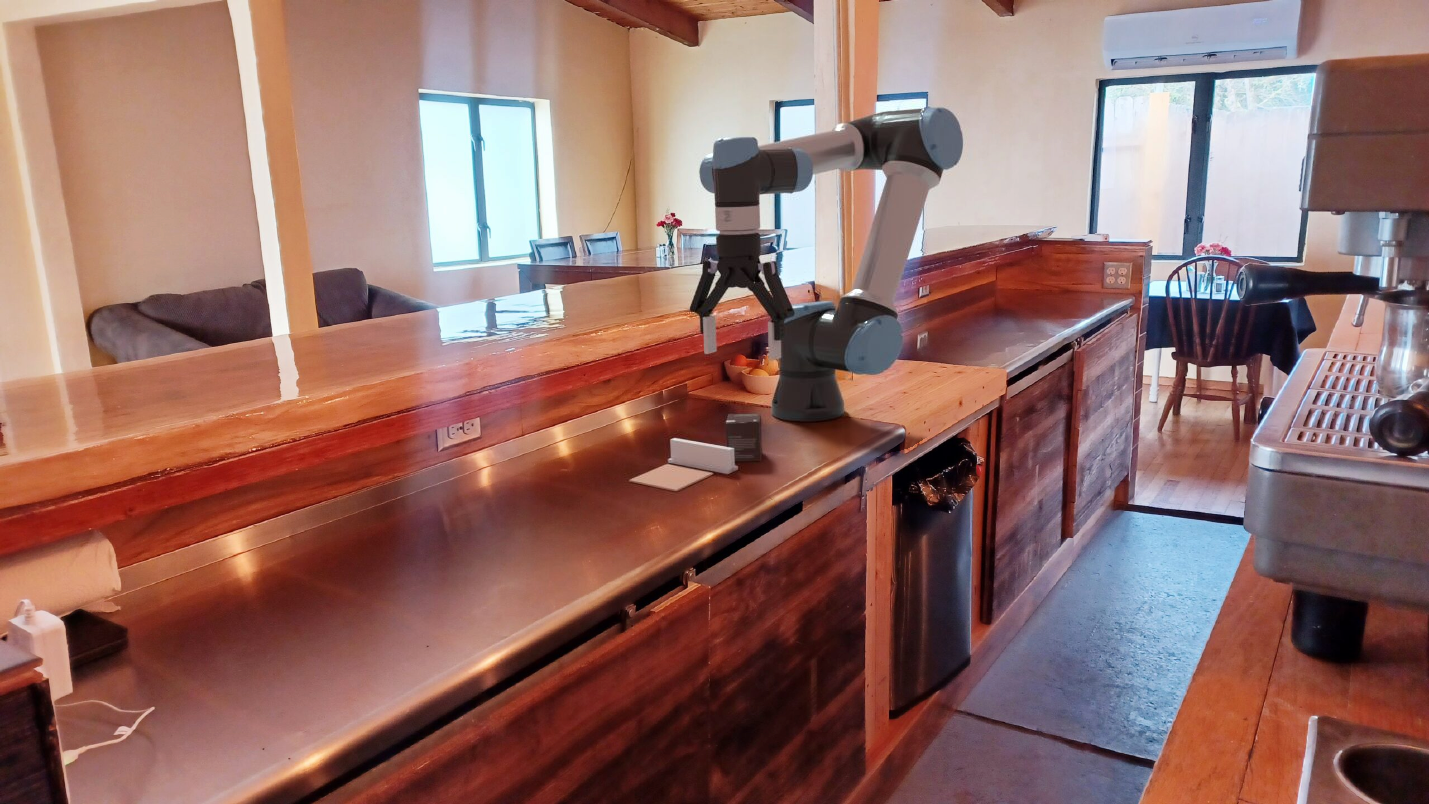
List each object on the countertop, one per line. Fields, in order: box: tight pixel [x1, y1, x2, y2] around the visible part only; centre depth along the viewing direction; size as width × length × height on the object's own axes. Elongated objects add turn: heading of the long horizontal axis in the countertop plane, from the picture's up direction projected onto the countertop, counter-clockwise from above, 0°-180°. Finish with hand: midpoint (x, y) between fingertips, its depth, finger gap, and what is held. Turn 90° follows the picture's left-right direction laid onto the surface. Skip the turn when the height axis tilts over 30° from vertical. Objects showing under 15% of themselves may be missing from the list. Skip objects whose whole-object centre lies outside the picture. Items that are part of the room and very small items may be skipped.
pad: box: [628, 463, 714, 492], centre depth 159 cm, size 10×10×1 cm
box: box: [725, 413, 763, 462], centre depth 168 cm, size 6×6×7 cm
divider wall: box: [667, 437, 739, 475], centre depth 164 cm, size 3×13×4 cm, turn 54°
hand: (742, 355), depth 164 cm, fingers open, 13 cm apart
